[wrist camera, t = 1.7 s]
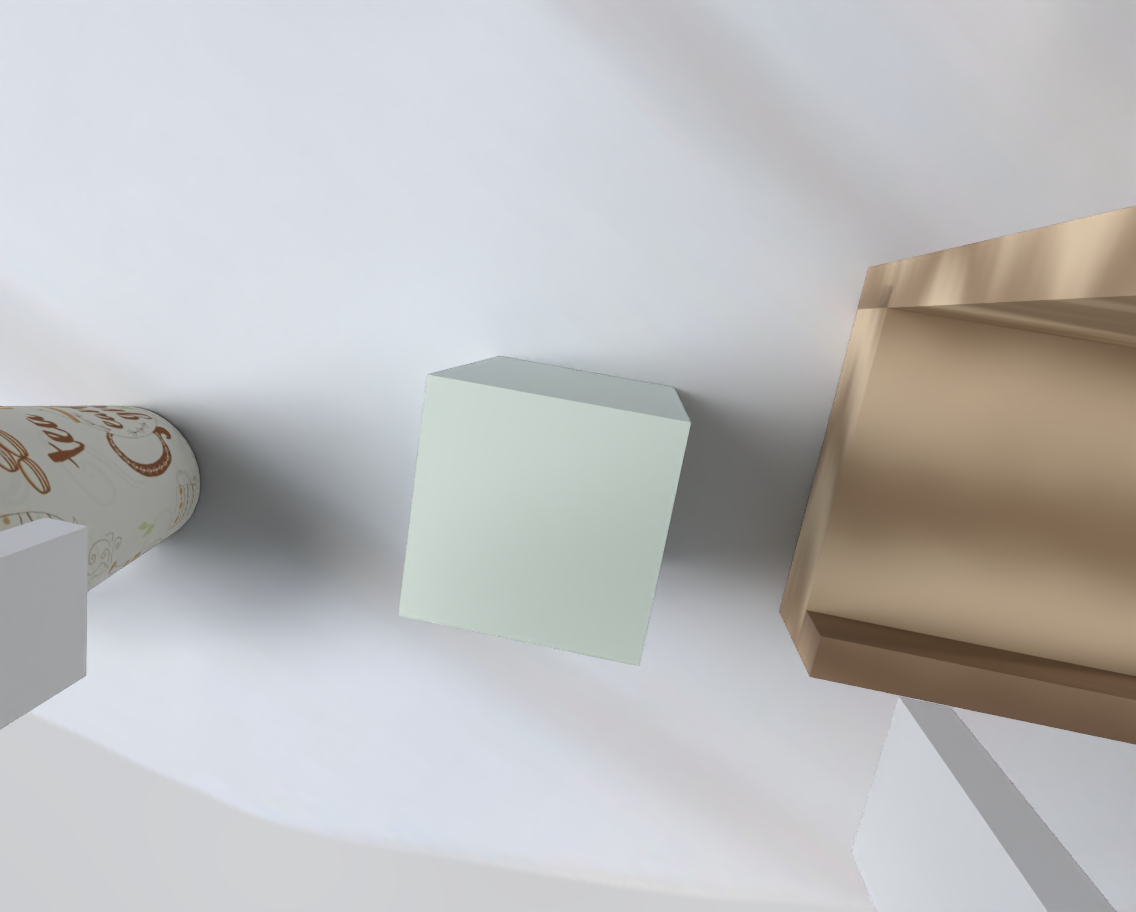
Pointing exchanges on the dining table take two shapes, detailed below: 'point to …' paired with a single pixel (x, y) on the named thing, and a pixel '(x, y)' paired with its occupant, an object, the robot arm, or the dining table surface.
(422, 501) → the cabinet block
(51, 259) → the dining table surface
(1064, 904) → the robot arm
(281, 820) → the dining table surface
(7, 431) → the mug
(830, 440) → the wooden stand
